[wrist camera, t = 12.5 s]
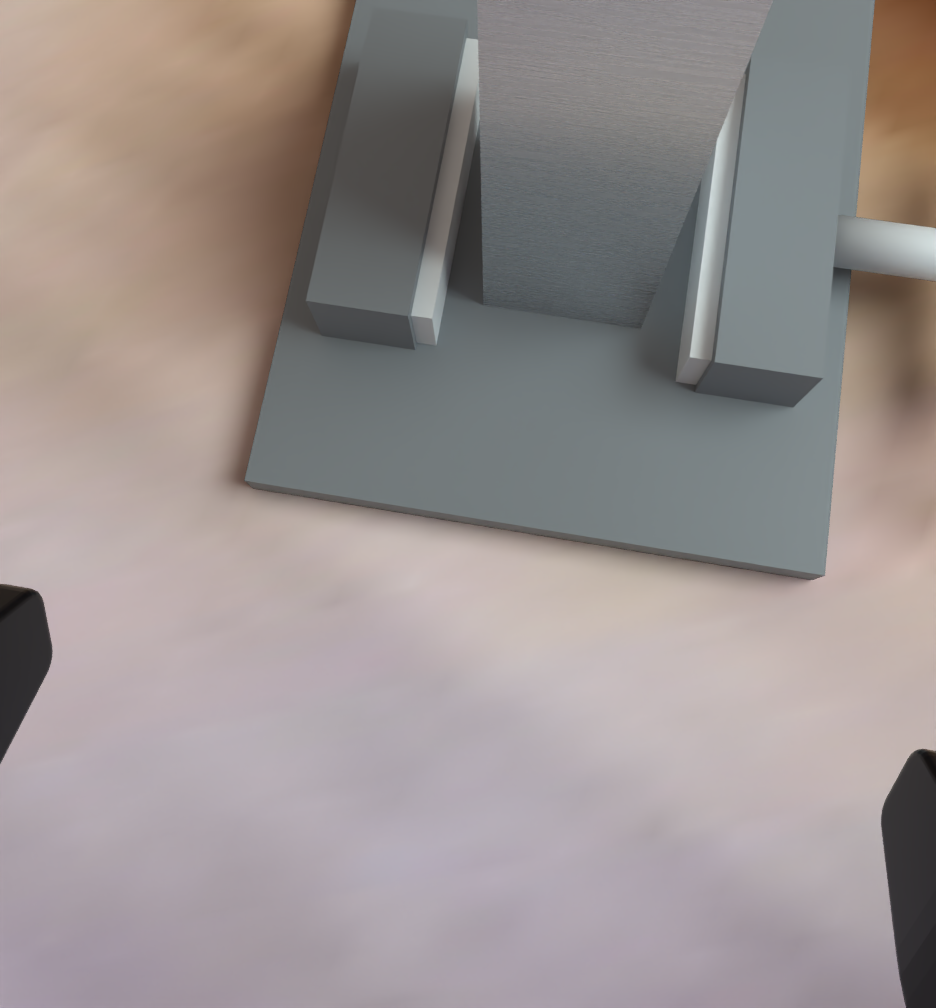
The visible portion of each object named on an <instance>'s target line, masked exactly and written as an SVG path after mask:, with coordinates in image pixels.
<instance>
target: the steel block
mask: <svg viewBox="0 0 936 1008" xmlns="http://www.w3.org/2000/svg"><path fill="white" fill-rule="evenodd" d="M772 2H773V0H477V11H478V60H479V109H480V158H481V207H482V256H483V305H485V306H492V307H498V308H505V309H512V310H518V311H525V312H532V313H539V314H545V315H552V316H559V317H565V318H572V319H579V320H585V321H592V322H599V323H606V324H612V325H619V326H626V327H632V328H639V329H641V328H642V325H643V323H644V320H645V318H646V315H647V313H648V310H649V308H650V305H651V303H652V300H653V298H654V295H655V293H656V290H657V288H658V285H659V283H660V281H661V278H662V276H663V273H664V271H665V268H666V266H667V263H668V261H669V258H670V256H671V253H672V251H673V248H674V246H675V243H676V241H677V238H678V236H679V233H680V231H681V228H682V226H683V223H684V221H685V218H686V216H687V213H688V211H689V208H690V206H691V203H692V201H693V198H694V196H695V193H696V191H697V188H698V186H699V184H700V181H701V179H702V176H703V174H704V171H705V169H706V166H707V164H708V161H709V159H710V156H711V154H712V151H713V149H714V146H715V144H716V141H717V139H718V136H719V134H720V131H721V129H722V126H723V124H724V121H725V119H726V116H727V114H728V111H729V109H730V106H731V104H732V101H733V99H734V96H735V94H736V91H737V89H738V87H739V84H740V82H741V79H742V77H743V74H744V72H745V69H746V67H747V64H748V62H749V59H750V57H751V54H752V52H753V49H754V47H755V44H756V42H757V39H758V37H759V34H760V32H761V29H762V27H763V24H764V22H765V19H766V17H767V14H768V12H769V9H770V7H771V4H772Z"/></svg>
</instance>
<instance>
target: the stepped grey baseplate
mask: <svg viewBox="0 0 936 1008" xmlns="http://www.w3.org/2000/svg"><path fill="white" fill-rule="evenodd" d="M874 3H875V0H773V2H772V4H771V7H770V9H769V12H768V14H767V17H766V19H765V22H764V24H763V27H762V29H761V32H760V34H759V37H758V39H757V42H756V44H755V47H754V49H753V52H752V54H751V57H750V59H749V62H748V64H747V67H746V69H745V72H744V74H743V77H742V79H741V82H740V84H739V87H738V89H737V91H736V94H735V96H734V99H733V101H732V104H731V106H730V109H729V111H728V114H727V116H726V119H725V121H724V124H723V126H722V129H721V131H720V134H719V136H718V139H717V141H716V144H715V146H714V149H713V151H712V154H711V156H710V159H709V161H708V164H707V166H706V169H705V171H704V174H703V176H702V179H701V181H700V184H699V186H698V188H697V191H696V193H695V196H694V198H693V201H692V203H691V206H690V208H689V211H688V213H687V216H686V218H685V221H684V223H683V226H682V228H681V231H680V233H679V236H678V238H677V241H676V243H675V246H674V248H673V251H672V253H671V256H670V258H669V261H668V263H667V266H666V268H665V271H664V273H663V276H662V278H661V281H660V283H659V285H658V288H657V290H656V293H655V295H654V298H653V300H652V303H651V305H650V308H649V310H648V313H647V315H646V318H645V320H644V323H643V325H642V328H641V329H639V328H632V327H626V326H619V325H612V324H606V323H599V322H592V321H585V320H579V319H572V318H565V317H559V316H552V315H545V314H539V313H532V312H525V311H518V310H512V309H505V308H498V307H492V306H485V305H483V256H482V207H481V158H480V109H479V60H478V11H477V0H356V3H355V8H354V12H353V16H352V20H351V25H350V29H349V33H348V38H347V42H346V46H345V50H344V55H343V59H342V63H341V68H340V72H339V76H338V81H337V85H336V89H335V93H334V98H333V102H332V106H331V111H330V115H329V119H328V124H327V128H326V132H325V136H324V141H323V145H322V149H321V154H320V158H319V162H318V166H317V171H316V175H315V179H314V184H313V188H312V192H311V197H310V201H309V205H308V209H307V214H306V218H305V222H304V227H303V231H302V235H301V240H300V244H299V248H298V252H297V257H296V261H295V265H294V270H293V274H292V278H291V282H290V287H289V291H288V295H287V300H286V304H285V308H284V313H283V317H282V321H281V325H280V330H279V334H278V338H277V343H276V347H275V351H274V356H273V360H272V364H271V368H270V373H269V377H268V381H267V386H266V390H265V394H264V399H263V403H262V407H261V411H260V416H259V420H258V424H257V429H256V433H255V437H254V441H253V446H252V450H251V454H250V459H249V463H248V467H247V472H246V476H245V480H244V481H245V482H247V483H248V484H249V485H250V486H251V487H252V488H254V489H261V490H267V491H273V492H279V493H285V494H291V495H297V496H303V497H309V498H315V499H322V500H328V501H334V502H340V503H346V504H352V505H358V506H364V507H370V508H376V509H383V510H389V511H395V512H401V513H407V514H413V515H419V516H425V517H431V518H437V519H444V520H450V521H456V522H462V523H468V524H474V525H480V526H486V527H492V528H498V529H505V530H511V531H517V532H523V533H529V534H535V535H541V536H547V537H553V538H559V539H566V540H572V541H578V542H584V543H590V544H596V545H602V546H608V547H614V548H620V549H626V550H633V551H639V552H645V553H651V554H657V555H663V556H669V557H675V558H681V559H687V560H694V561H700V562H706V563H712V564H718V565H724V566H730V567H736V568H742V569H748V570H755V571H761V572H767V573H773V574H779V575H785V576H791V577H797V578H803V579H809V580H814V579H817V578H819V577H822V576H825V567H826V556H827V544H828V533H829V521H830V510H831V498H832V487H833V475H834V464H835V452H836V441H837V429H838V418H839V406H840V395H841V383H842V372H843V360H844V348H845V337H846V325H847V314H848V302H849V291H850V279H851V270H858V271H865V272H872V273H879V274H887V275H894V276H901V277H908V278H915V279H922V280H929V281H936V228H931V227H924V226H917V225H910V224H902V223H895V222H888V221H881V220H873V219H866V218H859V217H856V210H857V199H858V187H859V176H860V164H861V153H862V141H863V130H864V118H865V106H866V95H867V83H868V72H869V60H870V49H871V37H872V26H873V14H874Z"/></svg>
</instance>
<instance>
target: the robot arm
mask: <svg viewBox="0 0 936 1008" xmlns="http://www.w3.org/2000/svg"><path fill="white" fill-rule="evenodd" d="M51 660H52V643H51V638H50V633H49V628H48V623H47V617H46V612H45V607H44V602H43V599H42V597H41V595H40V594H39V593H38V592H37V591H35V590H33V589H29V588H24V587H18V586H13V585H7V584H0V764H1V762H2V760H3V758H4V756H5V754H6V752H7V750H8V748H9V746H10V744H11V742H12V740H13V738H14V736H15V734H16V732H17V731H18V729H19V727H20V725H21V723H22V721H23V719H24V717H25V715H26V713H27V711H28V709H29V707H30V705H31V703H32V701H33V700H34V698H35V696H36V694H37V692H38V690H39V688H40V686H41V684H42V682H43V680H44V678H45V676H46V674H47V672H48V670H49V667H50V664H51ZM881 827H882V836H883V845H884V853H885V862H886V870H887V879H888V887H889V896H890V905H891V913H892V922H893V930H894V939H895V947H896V955H897V962H898V969H899V975H900V981H901V986H902V991H903V995H904V1000H905V1005H906V1008H936V751H933V750H927V749H919V750H916V751H914V752H913V753H912V754H911V755H910V756H909V758H908V759H907V761H906V763H905V765H904V767H903V769H902V770H901V772H900V774H899V776H898V778H897V780H896V781H895V783H894V785H893V787H892V789H891V791H890V793H889V794H888V796H887V798H886V800H885V803H884V806H883V809H882V816H881Z"/></svg>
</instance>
